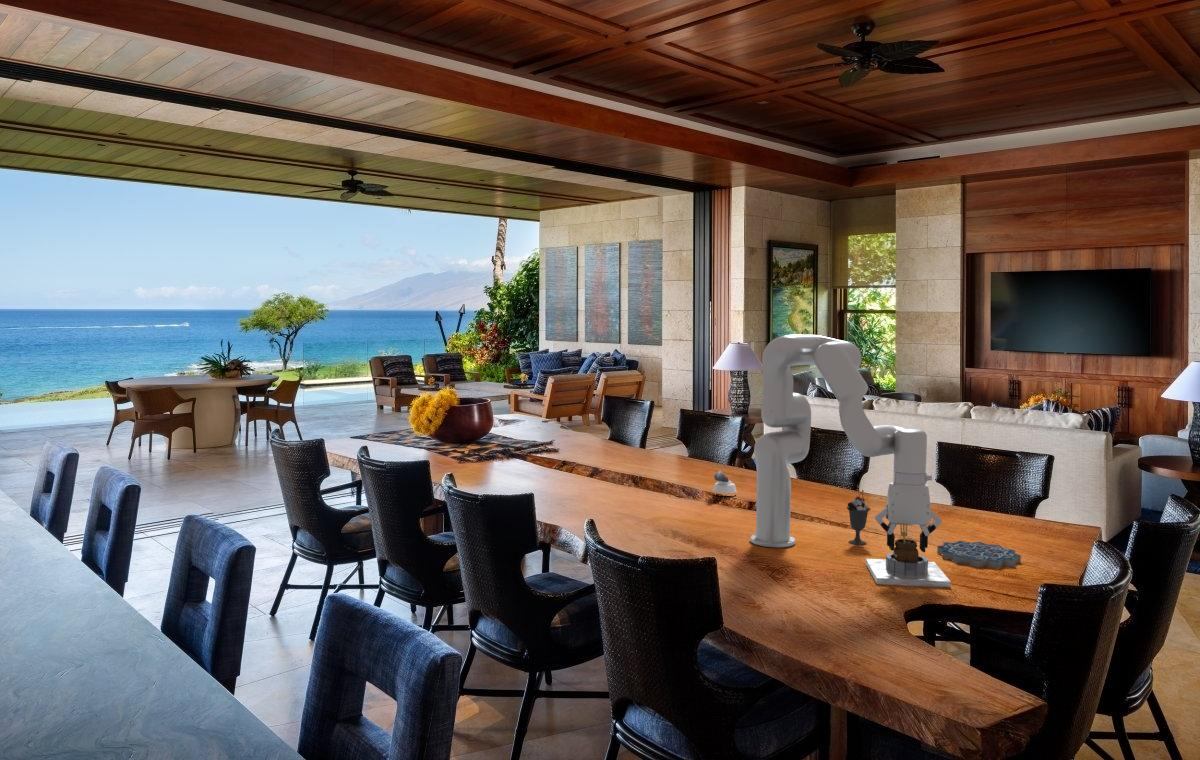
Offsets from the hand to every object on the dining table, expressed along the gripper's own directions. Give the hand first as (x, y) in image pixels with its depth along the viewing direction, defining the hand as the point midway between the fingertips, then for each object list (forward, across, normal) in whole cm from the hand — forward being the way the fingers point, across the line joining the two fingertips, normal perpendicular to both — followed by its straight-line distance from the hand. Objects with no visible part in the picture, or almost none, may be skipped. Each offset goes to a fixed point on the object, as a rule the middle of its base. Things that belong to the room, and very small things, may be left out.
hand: (906, 549), depth 211 cm
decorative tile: (+7, -23, -20) cm, 31 cm away
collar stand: (+7, 0, 0) cm, 7 cm away
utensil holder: (+5, 0, 0) cm, 5 cm away
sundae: (+7, +7, -30) cm, 32 cm away
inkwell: (+7, +46, -88) cm, 100 cm away
